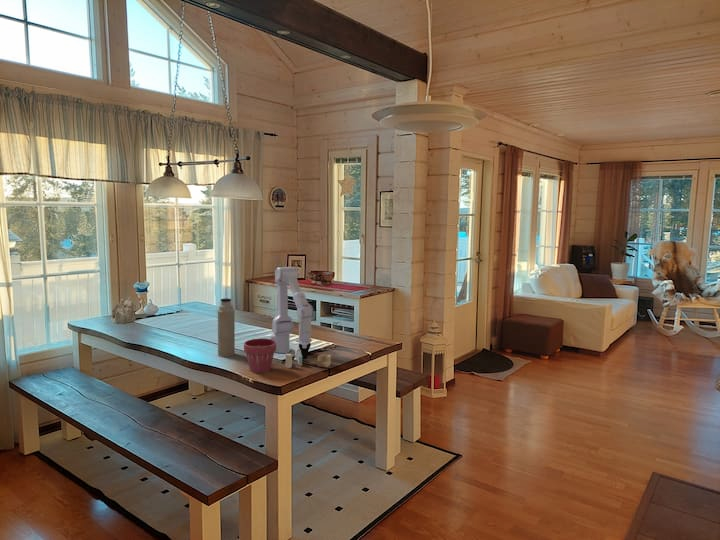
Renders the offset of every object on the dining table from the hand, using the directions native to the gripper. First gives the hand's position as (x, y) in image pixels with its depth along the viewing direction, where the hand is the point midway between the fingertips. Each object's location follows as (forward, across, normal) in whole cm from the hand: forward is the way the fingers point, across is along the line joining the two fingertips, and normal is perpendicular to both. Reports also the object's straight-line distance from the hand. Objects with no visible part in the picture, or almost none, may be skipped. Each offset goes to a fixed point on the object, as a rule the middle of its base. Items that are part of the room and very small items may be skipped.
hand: (304, 358), depth 235 cm
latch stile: (+2, +4, -7) cm, 8 cm away
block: (+2, +3, +9) cm, 10 cm away
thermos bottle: (+2, -14, -39) cm, 41 cm away
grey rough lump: (+3, -88, -116) cm, 145 cm away
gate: (+2, 0, -2) cm, 3 cm away
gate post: (+2, -6, -3) cm, 7 cm away
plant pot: (+2, +10, -20) cm, 22 cm away
